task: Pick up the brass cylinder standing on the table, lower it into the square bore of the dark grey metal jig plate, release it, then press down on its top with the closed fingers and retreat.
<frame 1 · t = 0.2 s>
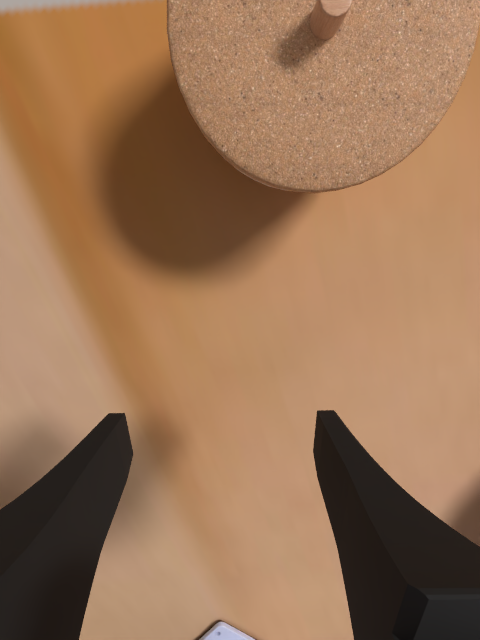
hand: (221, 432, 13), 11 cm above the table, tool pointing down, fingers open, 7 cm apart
lidded jar: (291, 96, 20), on the table
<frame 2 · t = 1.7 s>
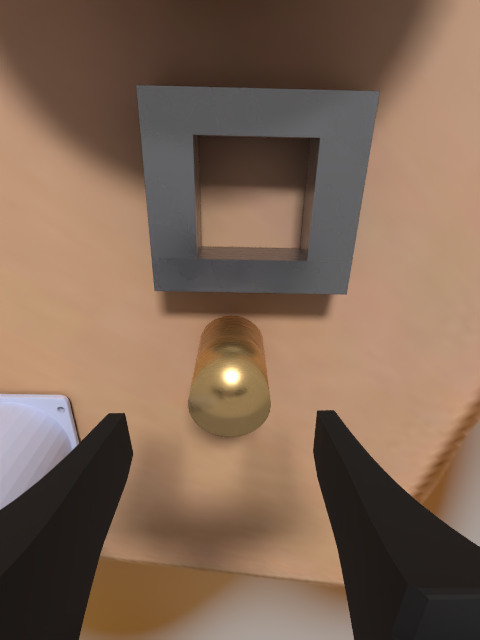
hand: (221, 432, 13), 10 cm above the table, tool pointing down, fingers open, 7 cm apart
jig: (252, 195, 19), on the table
brass cylinder: (231, 344, 23), on the table
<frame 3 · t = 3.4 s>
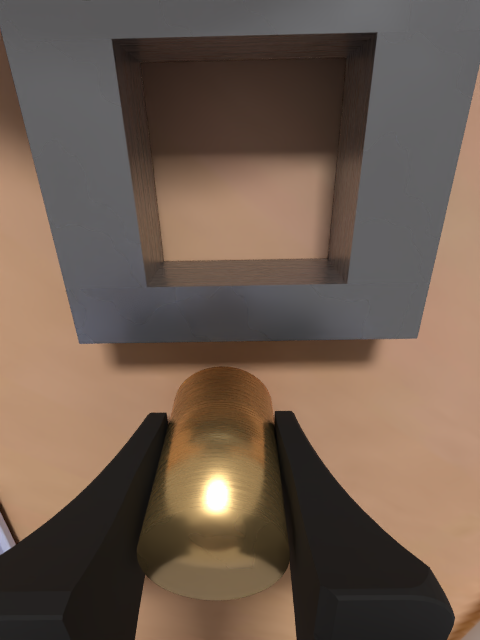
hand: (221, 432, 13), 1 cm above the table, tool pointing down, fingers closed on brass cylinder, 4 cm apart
jig: (244, 171, 11), on the table
brass cylinder: (223, 407, 15), on the table, touching gripper
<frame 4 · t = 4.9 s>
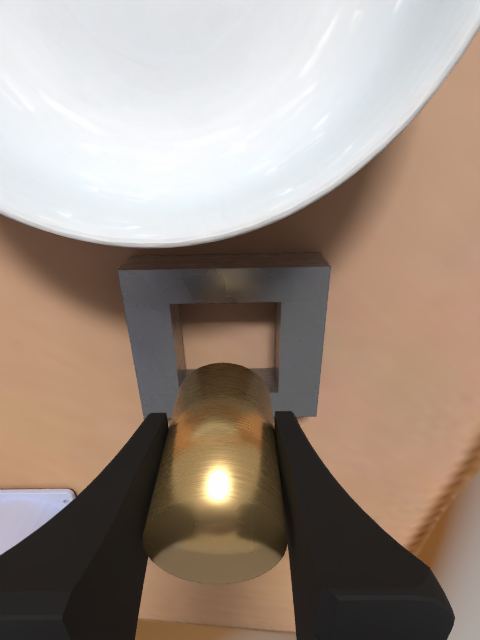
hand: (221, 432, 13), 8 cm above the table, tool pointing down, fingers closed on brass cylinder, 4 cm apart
jig: (228, 329, 21), on the table
brass cylinder: (224, 401, 15), point 6 cm above the table, touching gripper
when the fingers open (3 cm above the table, at t = 6.6 s): brass cylinder drops 1 cm, resting in jig.
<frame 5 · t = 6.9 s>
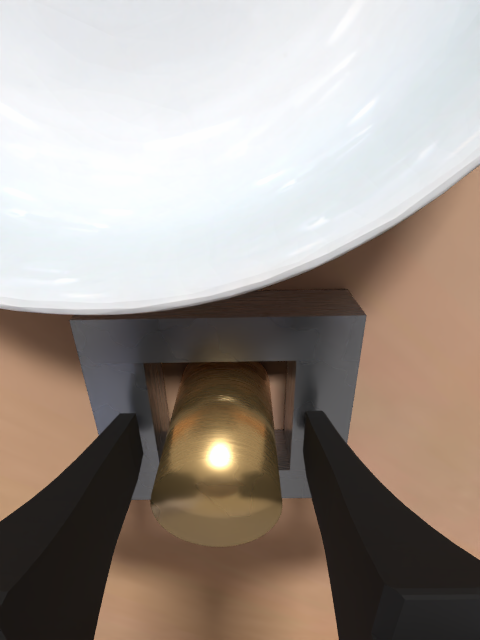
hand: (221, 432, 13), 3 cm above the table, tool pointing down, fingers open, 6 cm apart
jig: (225, 384, 16), on the table
brass cylinder: (225, 386, 16), resting in jig
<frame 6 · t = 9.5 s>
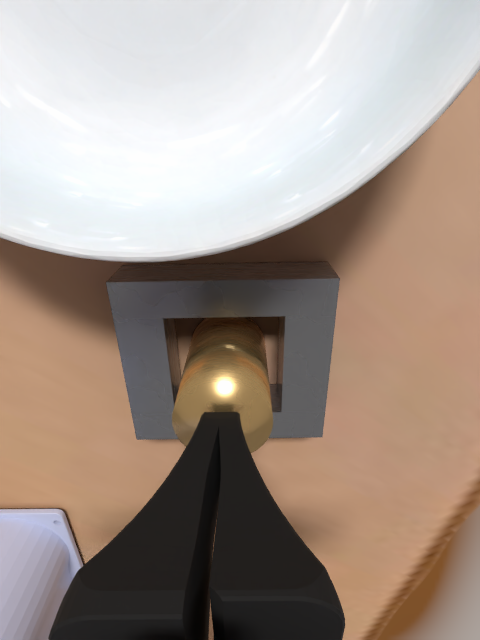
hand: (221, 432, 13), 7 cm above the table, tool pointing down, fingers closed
jig: (227, 343, 19), on the table
brass cylinder: (228, 345, 20), resting in jig
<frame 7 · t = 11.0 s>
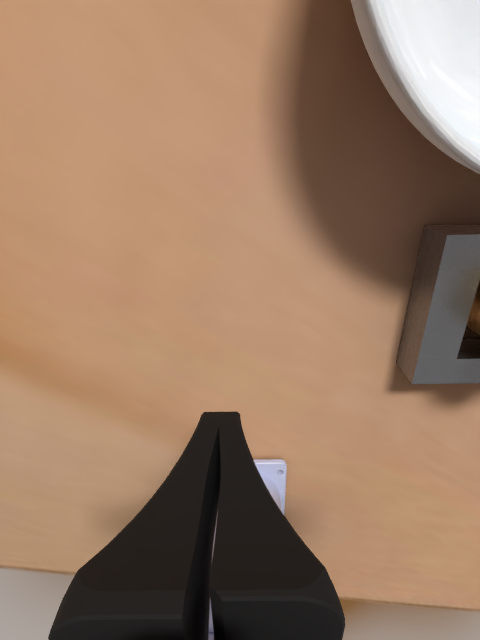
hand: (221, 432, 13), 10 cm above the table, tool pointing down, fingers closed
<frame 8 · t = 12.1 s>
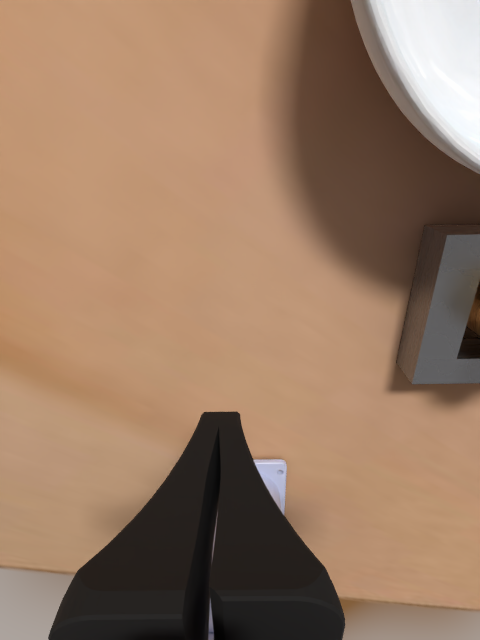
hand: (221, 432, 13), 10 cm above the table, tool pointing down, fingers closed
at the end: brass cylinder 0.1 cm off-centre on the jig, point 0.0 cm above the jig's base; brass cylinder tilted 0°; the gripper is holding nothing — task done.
